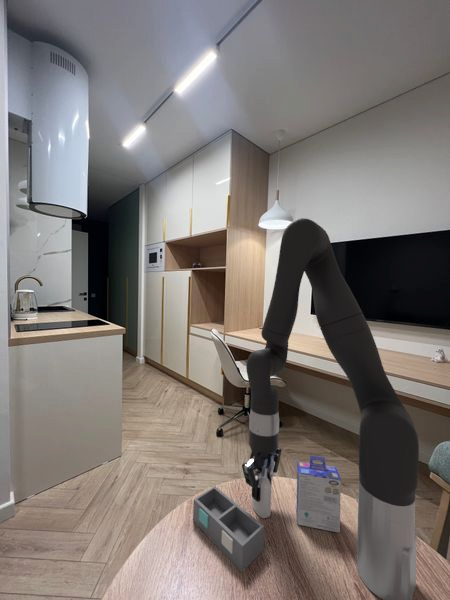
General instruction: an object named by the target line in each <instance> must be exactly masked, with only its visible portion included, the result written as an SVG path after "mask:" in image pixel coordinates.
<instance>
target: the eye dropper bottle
mask: <svg viewBox="0 0 450 600" xmlns="http://www.w3.org/2000/svg"><path fill="white" fill-rule="evenodd" d="M258 471H259V470H258ZM255 479H256V480H258V477H257V476H256V477H255ZM251 505H252V507H253V510H254V512H255V513H256V514H257V515H258V516H259V517H260V518H262V519H266V518H269V517H270V516H271V513H272V512H271V509H272V483H271V484H270V481H269V479H268V478H267V468H266V469H265V475H264V477H262V482H261V492H260V501H259V502H257V501H256V500H254V499H253V498H251Z"/></svg>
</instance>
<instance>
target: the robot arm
mask: <svg viewBox="0 0 450 600" xmlns="http://www.w3.org/2000/svg"><path fill="white" fill-rule="evenodd" d="M277 261H278V262H277V268H276V273H275V278H274V279H275V280H274V285H273V289H272V295H271V297H270V303H269V305H268V308H267V312H266V315H265V318H264V321H263V325H262V329H261V331H260V332H261V337H262V339H263V340H264V341H265V342H266V343H265V347H264V348H263V349H257V350H253V351H252V352H251V353H250V354H249V355H248V358H247V360H246V368H245V369H246V375H247V378H248V379H247V380H248V384H249V388H250V392H251V394H250V396H251V397H250V410H249V411H250V413H249V418H248V421H249V423H248V445H249V447H250V450H251V452H250V456H249V460H248V462H242V464H241V469H242V472H243V473H242V474H243V476H244V479H245V481H244V482H245V483H246V484H247V485H248V486H250V487H251V497H252V498H253V499H254V500H256V501H257V502H259V501H260V492H261V482H262V477H264V475H265V469H266V468H267V478H268V479H269V481H270V484H271V485H272V484H273V483H272V482H273V481H272V479H273V478H274V474H276V473H277V472H278V470H279V465H280V459H281V454H282V451H283V449H282V448H281V447H279V440H280V439H279V437H280V435H279V434H280V416H279V414H280V413H279V401H280V400H279V398H280V395H279V390H278V388H277V387H275V386H274V385H272V383H271V377H274V376H277V375H279V374H280V373H281V372H283V370H284V368H285V366H286V364H287V362H288V361H287V360H288V354H289V352H288V351H289V340H290V337H291V334H292V332H293V328H294V325H295V322H296V319H297V315H298V314H297V313H298V308H299V295H300V289H301V284H302V280H303V276H304V273H305V275H306V277H307V279H308V282H309V284H310V287H311V291H312V298H313V304H314V305H313V306H314V311H315V317H316V320H317V325H318V327H319V329H320V331H321V334H322V336H323V338H324V341H325V344H326V346H327V347H328V349H329V351H330V353H331V355H332V356H333V357H334V359H335V361H336V362H337V364H338V365H339V367H340V368H341V369H342V371H343V373H344V374H345V376H346V377H347V379H348V381H349V383H350V386H351V388H352V390H353V393H354V396H355V400H356V402H357V404H358V408H359V413H360V417H361V418H360V423H359V432H358V433H359V434H358V436H359V438H358V441H359V442H358V449H359V450H358V503H357V504H358V506H357V538H356V539H357V541H356V543H357V544H356V548H357V549H356V569H357V573H358V575H359V578H360V579H361V581H362V582H363V583H364V585H365V587H367V589H368V590H370V591H371V592H372V593H373V595H375V596H376V597H378V598H380V599H381V600H413V598H414V594H415V591H416V587H417V546H418V544H417V543H418V542H417V541H418V538H417V537H418V536H417V534H416V533H415V526H416V525H415V523H416V522H415V519H416V513H415V512H416V492H417V489H418V484H419V483H418V481H419V480H418V479H419V460H420V458H419V457H420V456H419V454H420V450H419V449H420V448H419V447H420V446H419V435H418V433H417V430H416V427H415V423H414V422H413V418H412V417H411V415H410V413H409V412H408V410H407V408H406V407H405V405H404V404H403V403H402V401H401V399H400V397H399V396H398V394H397V392H396V390H395V388H394V387H393V385H392V384H391V381H390V380H389V377H388V376H387V374H386V372H385V368H384V366H383V362H382V359H381V355H380V353H379V350H378V347H377V343H376V342H375V339H374V336H373V334H372V331H371V328H370V327H369V324H368V322H367V319H366V316H365V315H364V313H363V311H362V308H360V305H359V303H358V301H357V299H356V298H355V296H354V293H353V292H352V290H351V288H350V287H349V285H348V282H347V281H346V279H345V278H344V276H343V274H342V272H341V269H340V268H339V264H338V262H337V259H336V256H335V253H334V250H333V246H332V243H331V240H330V237H329V235H328V232H327V231H326V230H325V229H324V228H323V227H322V226H320V225H319V224H318V223H317V222H315V221H314V220H312V219H310V218H305V217H304V218H303V217H301V218H297V219H294V220H293V221H291V222H290V223H289V224H288V225H287V226H286V227H285V228H284V231H283V233H282V236H281V241H280V247H279V253H278V260H277ZM258 470H259V471H258ZM256 476H257V477H258V480H256V479H255V477H256ZM252 498H251V499H252Z"/></svg>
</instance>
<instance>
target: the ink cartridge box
mask: <svg viewBox="0 0 450 600" xmlns="http://www.w3.org/2000/svg"><path fill="white" fill-rule="evenodd" d="M317 460H318V461H319V462H322V464H320V463H315V462H313V461H317ZM296 463H297V466H296V467H297V470H296V472H297V473H296V509H295V515H296V516H295V517H296V524H297V525H298V526H302V527H303V526H304V527H309V528H312V529H313V528H314V529H320V530H323V531H329V532H334V533H338V534H339V533H341V493H342V492H341V491H342V478H341V476H340V474H339V470H338V468H337V466H331V465H327V464H326V458H325V457H322V456H318V455H317V456H316V455H309V462H304V461H303V462H301V461H297V462H296Z"/></svg>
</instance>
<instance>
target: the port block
mask: <svg viewBox="0 0 450 600" xmlns="http://www.w3.org/2000/svg"><path fill="white" fill-rule="evenodd" d="M192 522H194V523H195V524H196V525H197V526H198V528H199V529H200V530H201V531H202V532H203V533H204V534H205V535H206V537H208V538H209V539H210V540H211V541H212V543H214V545H215V546H216V547H217V548H218V549H219V550H220V551H221V553H223V554H224V555H225V556H226V557H227V559H228V560H229V561H230V562H231V563H232V564H233V565H234V566H235V567H236V568H237V569H238V570H239V571H240V572H241V573H243V572H244V571H245V569H247V568H248V567H249V566H250V564H252V562H253V561H254V560H255V559H256V558H257V557H258V556H259V555H260V554H261V553H262V552H263V551H264V538H265V526H264V524H262V523H261V522H260V521H258V520H257V519H256V518H255V517H254V516H252V515H251V514H250V513H248V512H247V511H246V510H245V508H244V507H243V508H242V506H240V505H239V504H237V502H235V501H234V500H233V499H231V498H230V497H229V496H228V495H227V494H225V493H224V492H223V491H222V490H221V489H219V488H218V487H217V486H216V485H214V486H213V487H211V488H209V489H207V490H206V491H204V492H203V493H202V494H200V495H198V496H196V497H195V498H194V499H193V511H192Z"/></svg>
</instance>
